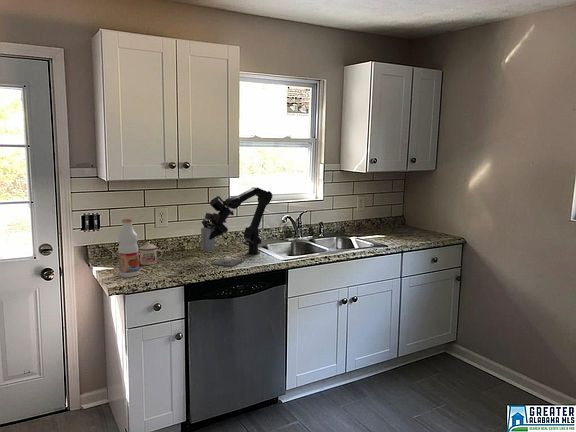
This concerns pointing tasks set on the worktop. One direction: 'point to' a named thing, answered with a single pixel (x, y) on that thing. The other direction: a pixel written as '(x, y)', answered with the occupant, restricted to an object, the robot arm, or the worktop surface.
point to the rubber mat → (227, 262)
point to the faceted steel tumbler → (207, 239)
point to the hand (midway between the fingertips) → (205, 238)
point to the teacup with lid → (149, 254)
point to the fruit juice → (128, 250)
